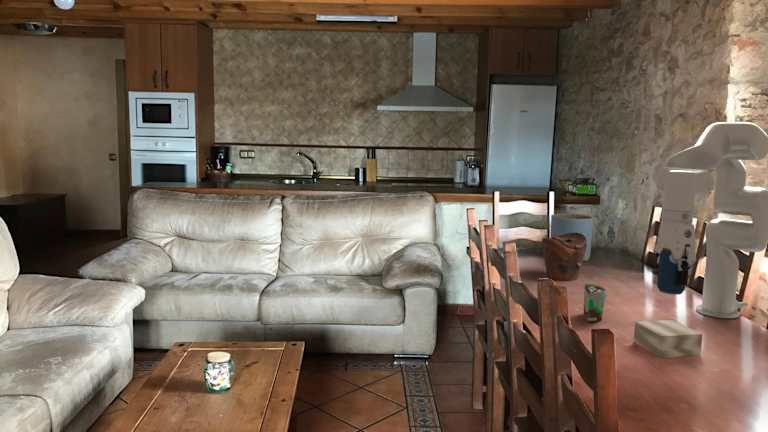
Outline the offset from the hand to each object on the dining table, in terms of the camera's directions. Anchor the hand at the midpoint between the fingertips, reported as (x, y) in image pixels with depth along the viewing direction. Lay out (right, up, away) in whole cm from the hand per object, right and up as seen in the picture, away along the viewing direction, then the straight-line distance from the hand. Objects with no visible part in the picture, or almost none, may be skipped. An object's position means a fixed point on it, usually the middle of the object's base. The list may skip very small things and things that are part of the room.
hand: (671, 280), depth 161 cm
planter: (+10, -2, +119) cm, 119 cm away
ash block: (0, -19, +3) cm, 19 cm away
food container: (-11, -16, +28) cm, 34 cm away
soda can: (0, -3, 0) cm, 3 cm away
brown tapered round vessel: (-5, -8, +82) cm, 83 cm away
